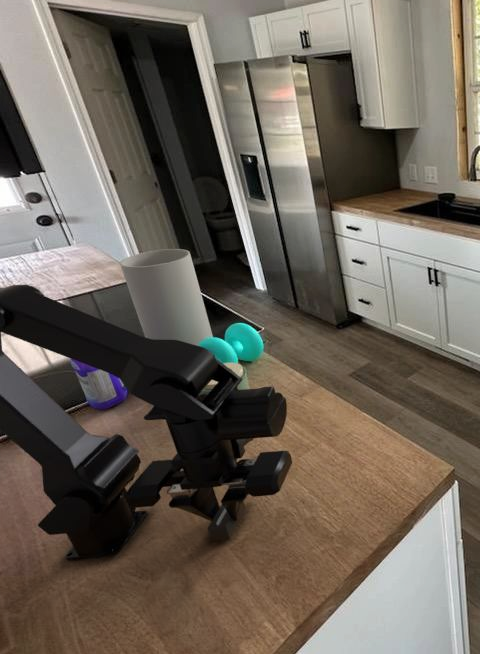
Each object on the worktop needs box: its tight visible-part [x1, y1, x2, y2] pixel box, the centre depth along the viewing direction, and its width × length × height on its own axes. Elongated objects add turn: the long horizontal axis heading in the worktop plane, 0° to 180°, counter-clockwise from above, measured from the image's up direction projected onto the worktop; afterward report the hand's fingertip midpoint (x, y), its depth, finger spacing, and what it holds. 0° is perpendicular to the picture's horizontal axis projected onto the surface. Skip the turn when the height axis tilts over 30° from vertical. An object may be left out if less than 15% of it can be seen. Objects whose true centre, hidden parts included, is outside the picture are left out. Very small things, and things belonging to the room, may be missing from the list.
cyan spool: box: [198, 322, 264, 364], centre depth 96 cm, size 10×10×10 cm
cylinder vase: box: [119, 248, 214, 346], centre depth 99 cm, size 12×12×25 cm
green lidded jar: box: [200, 362, 251, 394], centre depth 84 cm, size 9×9×8 cm
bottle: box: [70, 358, 128, 410], centre depth 82 cm, size 7×6×17 cm
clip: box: [207, 500, 246, 542], centre depth 61 cm, size 5×2×3 cm, turn 8°
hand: (228, 518), depth 61 cm, fingers closed on clip, 2 cm apart
